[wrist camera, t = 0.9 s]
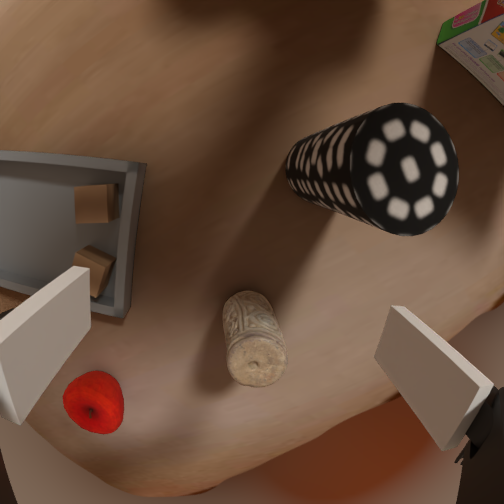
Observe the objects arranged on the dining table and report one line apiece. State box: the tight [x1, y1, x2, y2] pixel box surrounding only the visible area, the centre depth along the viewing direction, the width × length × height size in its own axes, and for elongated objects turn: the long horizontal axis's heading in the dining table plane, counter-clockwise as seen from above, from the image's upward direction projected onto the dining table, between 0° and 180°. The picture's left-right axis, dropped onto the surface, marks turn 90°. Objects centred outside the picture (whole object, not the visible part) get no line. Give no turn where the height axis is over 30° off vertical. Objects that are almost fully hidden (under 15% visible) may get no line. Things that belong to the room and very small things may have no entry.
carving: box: [223, 291, 288, 387], centre depth 34 cm, size 6×8×12 cm
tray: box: [0, 150, 147, 318], centre depth 34 cm, size 18×26×4 cm
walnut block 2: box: [72, 245, 117, 298], centre depth 35 cm, size 4×4×4 cm
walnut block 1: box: [74, 183, 120, 224], centre depth 33 cm, size 4×4×4 cm
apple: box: [63, 371, 124, 434], centre depth 38 cm, size 9×9×8 cm
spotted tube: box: [286, 103, 459, 236], centre depth 27 cm, size 8×8×20 cm
